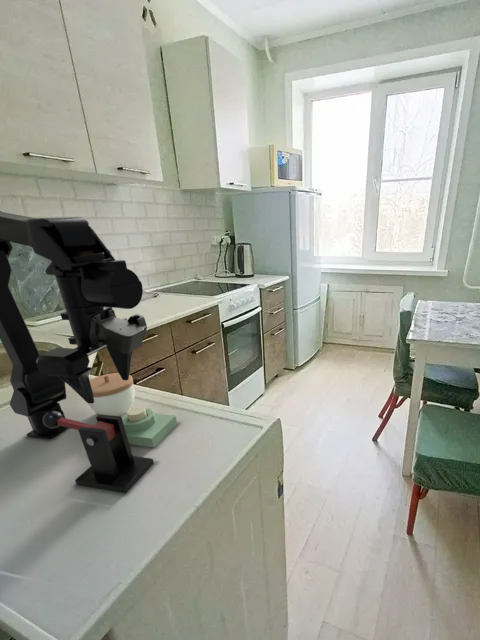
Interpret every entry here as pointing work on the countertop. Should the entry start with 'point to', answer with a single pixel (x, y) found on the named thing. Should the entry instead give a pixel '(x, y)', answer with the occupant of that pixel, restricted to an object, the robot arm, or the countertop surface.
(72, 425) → the red lever
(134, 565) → the countertop surface
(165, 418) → the green button pad
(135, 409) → the timer button
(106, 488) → the lever stand
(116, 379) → the trinket box
